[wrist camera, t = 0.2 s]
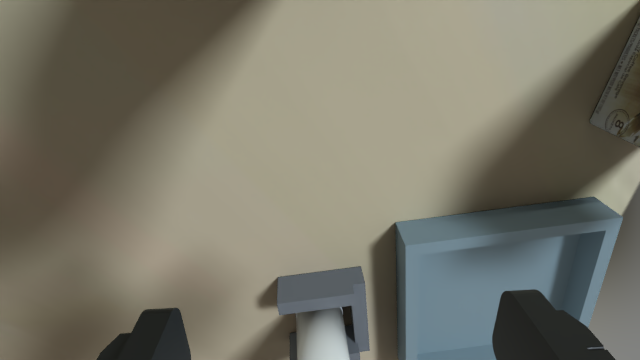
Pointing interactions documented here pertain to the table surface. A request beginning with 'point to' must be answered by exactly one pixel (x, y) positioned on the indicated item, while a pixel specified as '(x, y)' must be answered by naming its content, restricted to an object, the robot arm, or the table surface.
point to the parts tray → (495, 271)
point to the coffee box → (622, 95)
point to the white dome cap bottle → (321, 335)
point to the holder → (328, 302)
